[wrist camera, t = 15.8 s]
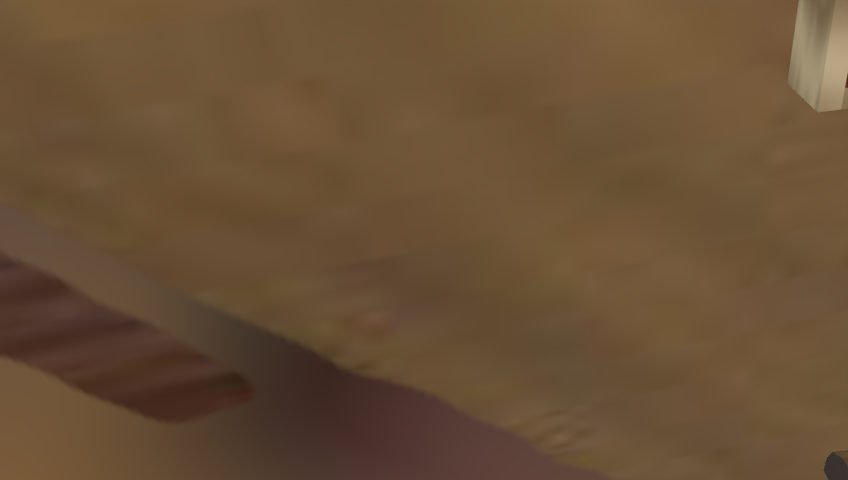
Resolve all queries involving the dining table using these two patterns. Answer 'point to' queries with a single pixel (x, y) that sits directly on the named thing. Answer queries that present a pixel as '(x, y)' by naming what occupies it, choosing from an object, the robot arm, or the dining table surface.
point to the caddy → (821, 54)
